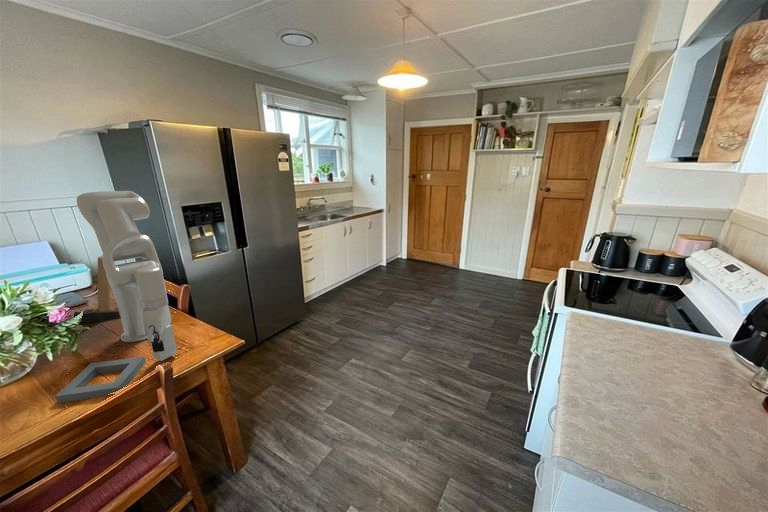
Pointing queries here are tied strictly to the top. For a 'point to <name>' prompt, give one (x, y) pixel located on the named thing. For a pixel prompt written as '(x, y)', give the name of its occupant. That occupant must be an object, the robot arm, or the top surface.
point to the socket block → (81, 391)
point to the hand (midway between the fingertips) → (163, 344)
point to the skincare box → (166, 344)
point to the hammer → (101, 300)
